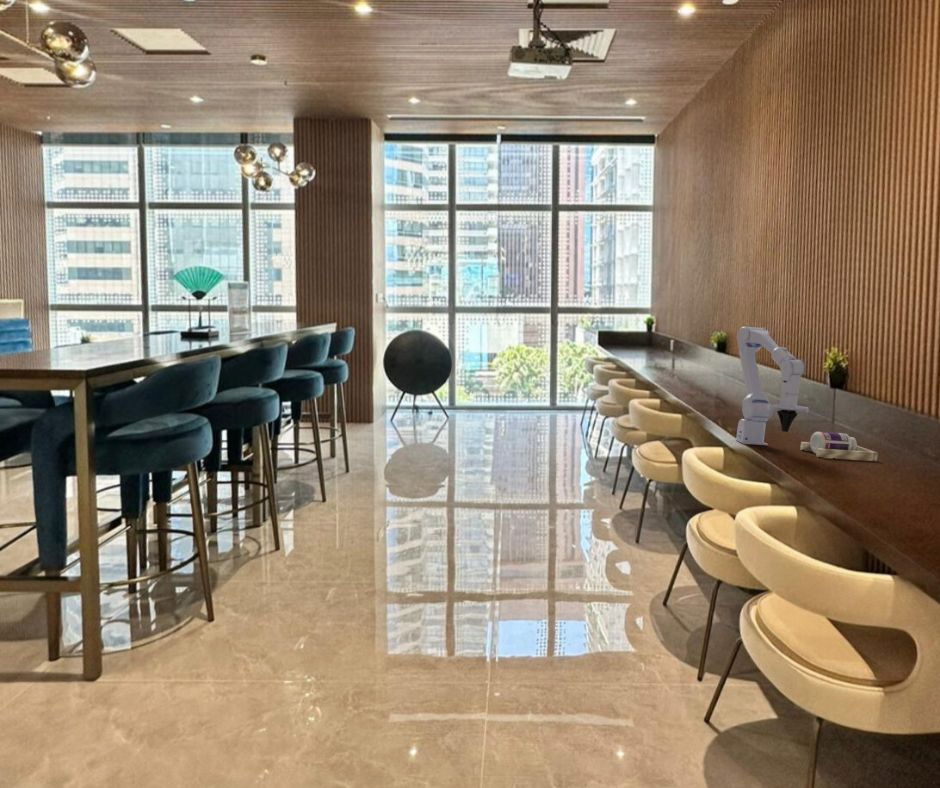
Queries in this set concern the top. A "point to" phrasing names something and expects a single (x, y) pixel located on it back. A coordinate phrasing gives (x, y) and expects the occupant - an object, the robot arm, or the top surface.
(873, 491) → the top surface
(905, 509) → the top surface
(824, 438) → the pill bottle
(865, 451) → the cradle
